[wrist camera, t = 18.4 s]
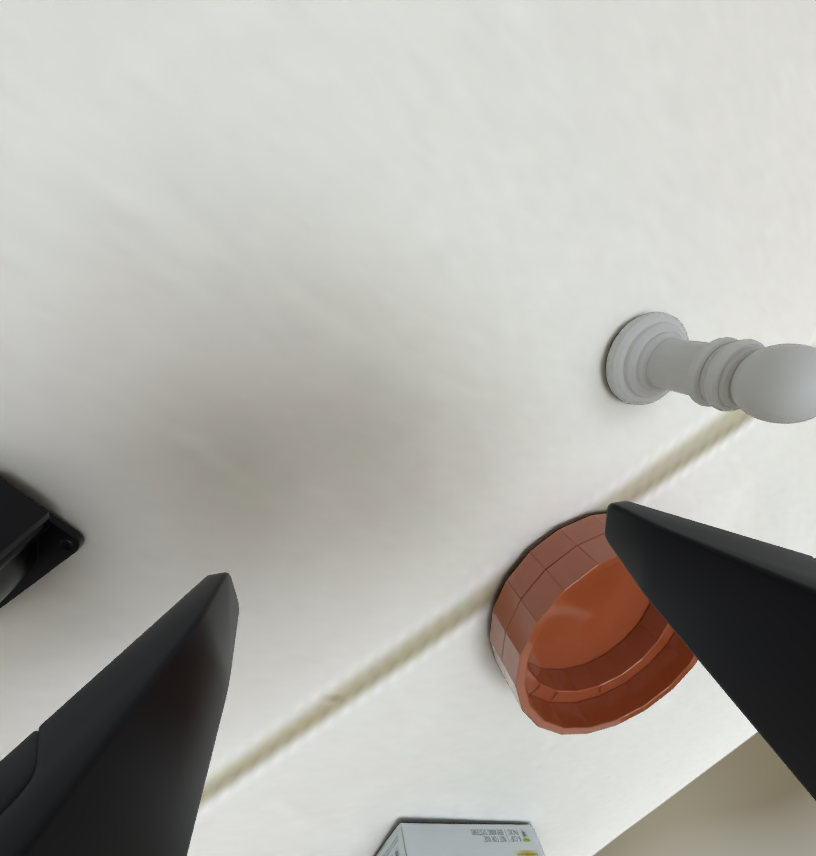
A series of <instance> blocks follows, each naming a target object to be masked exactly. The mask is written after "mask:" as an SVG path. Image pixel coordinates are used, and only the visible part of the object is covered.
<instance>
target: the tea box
mask: <svg viewBox="0 0 816 856" xmlns="http://www.w3.org/2000/svg"><path fill="white" fill-rule="evenodd" d="M376 856H546V855H545V853H544V851H543V848H542V846H541V844H540V842H539V839H538V837H537V835H536V832H535V830H534V828H533V826H532V825H512V824H506V825H505V824H420V823H399V825H398V826H397V828H396V829H395V830H394V831H393V833H392V834H391V835H390V837H389V838H388V839H387V841H386V842H385V844H384V845H383V846H382V848H381V849H380V851H379V852H378V854H377V855H376Z"/></svg>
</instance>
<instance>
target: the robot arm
mask: <svg viewBox="0 0 816 856" xmlns="http://www.w3.org/2000/svg"><path fill="white" fill-rule="evenodd" d="M604 532H605V537H606V540H607V542H608V543H609V545H610V546H611V548H612V549H613V550H614V552H615V553H616V555H617V556H618V558H619V559H620V561H621V562H622V563H623V565H624V566H625V568H626V569H627V571H628V572H629V574H630V575H631V576H632V578H633V579H634V581H635V582H636V584H637V585H638V587H639V588H640V589H641V591H642V592H643V593H644V595H645V596H646V597H647V598H648V600H649V601H650V602H651V604H652V605H653V606H654V607H655V608H656V610H657V611H658V612H659V613H660V614H661V616H662V617H663V618H664V619H665V620H666V622H667V623H668V624H669V625H670V626H671V628H672V629H673V630H674V631H675V632H676V634H677V635H678V636H679V637H680V638H681V640H682V641H683V642H684V643H685V644H686V646H687V647H688V648H689V649H690V650H691V652H692V653H693V654H694V655H695V656H696V658H697V659H698V660H699V661H700V662H701V664H702V665H703V666H704V667H705V668H706V670H707V671H708V672H709V673H710V674H711V676H712V677H713V678H714V679H715V680H716V682H717V683H718V684H719V685H720V686H721V688H722V689H723V690H724V691H725V692H726V694H727V695H728V696H729V697H730V698H731V700H732V701H733V702H734V703H735V704H736V706H737V707H738V708H739V709H740V710H741V712H742V713H743V714H744V715H745V716H746V718H747V719H748V720H749V721H750V722H751V724H752V725H753V726H754V727H755V728H756V730H757V731H758V732H759V733H760V734H761V736H762V737H763V738H764V739H765V740H766V742H767V743H768V744H769V745H770V746H771V748H772V749H773V750H774V751H775V752H776V754H777V755H778V756H779V757H780V758H781V760H782V761H783V762H784V763H785V764H786V765H787V767H788V768H789V769H790V770H791V771H792V772H793V774H794V775H795V776H796V778H797V779H798V780H799V781H800V782H801V784H802V785H803V786H804V787H805V788H806V789H807V791H808V792H809V793H810V794H811V796H812V797H813V798H814V799H815V800H816V558H815V559H814V558H813V557H812V556H809V555H806V554H803V553H799V552H796V551H793V550H789V549H786V548H783V547H779V546H776V545H772V544H769V543H766V542H762V541H759V540H756V539H752V538H749V537H746V536H742V535H739V534H736V533H732V532H729V531H726V530H722V529H719V528H716V527H712V526H709V525H706V524H702V523H699V522H695V521H692V520H689V519H685V518H682V517H679V516H675V515H672V514H669V513H665V512H662V511H659V510H655V509H652V508H649V507H645V506H642V505H639V504H635V503H632V502H629V501H621V502H615V503H611V504H610V505H609V506H608V508H607V514H606V522H605V531H604ZM65 540H69V541H71V542H72V543H73V544H67V543H66V542H65ZM83 543H84V538H83V536H82V535H81V534H80V533H79V532H78V531H76V530H75V529H73V528H72V527H71V526H69V525H68V524H66V523H65V522H63V521H62V520H61V519H59V518H58V517H56V516H55V515H54V514H52V513H51V512H49V511H48V510H46V509H45V508H44V507H42V506H41V505H39V504H38V503H36V502H35V501H34V500H32V499H31V498H29V497H28V496H27V495H25V494H24V493H22V492H21V491H19V490H18V489H17V488H15V487H14V486H12V485H11V484H10V483H8V482H7V481H5V480H4V479H2V478H1V477H0V608H1V607H3V606H4V605H5V604H7V603H8V602H9V601H11V600H12V599H13V598H15V597H16V596H17V595H19V594H20V593H21V592H23V591H24V590H25V589H27V588H28V587H29V586H31V585H32V584H33V583H35V582H36V581H37V580H39V579H40V578H41V577H43V576H44V575H45V574H47V573H48V572H49V571H51V570H52V569H54V568H55V567H56V566H58V565H59V564H60V563H62V562H63V561H64V560H66V559H67V558H68V557H70V556H71V555H72V554H74V553H75V552H76V551H77V550H78V549H79V548H80V547H81V546H82V544H83ZM238 615H239V603H238V599H237V596H236V592H235V589H234V586H233V582H232V579H231V576H230V575H229V574H228V573H226V572H224V573H219V574H213V575H209V576H207V577H205V578H204V579H203V580H202V581H201V582H200V583H199V584H198V585H196V586H195V587H194V588H193V589H192V590H191V591H190V592H189V593H188V594H186V595H185V596H184V597H183V598H182V599H181V600H180V601H179V602H178V603H176V604H175V605H174V606H173V607H172V608H171V609H170V610H169V611H168V612H166V613H165V614H164V615H163V616H162V617H161V618H160V619H159V620H157V621H156V622H155V623H154V624H153V625H152V626H151V627H150V628H149V629H147V630H146V631H145V632H144V633H143V634H142V635H141V636H140V637H139V638H137V639H136V640H135V641H134V642H133V643H132V644H131V645H130V646H129V647H127V648H126V649H125V650H124V651H123V652H122V653H121V654H120V655H119V656H117V657H116V658H115V659H114V660H113V661H112V662H111V663H110V664H109V665H107V666H106V667H105V668H104V669H103V670H102V671H101V672H100V673H99V674H97V675H96V676H95V677H94V678H93V679H92V680H91V681H90V682H89V683H87V684H86V685H85V686H84V687H83V688H82V689H81V690H80V691H78V692H77V693H76V694H75V695H74V696H73V697H72V698H71V699H70V700H68V701H67V702H66V703H65V704H64V705H63V706H62V707H61V708H60V709H58V710H57V711H56V712H55V713H54V714H53V715H52V716H51V717H50V718H48V719H47V720H46V721H45V722H44V723H43V724H42V725H41V726H40V727H39V731H34V732H33V733H32V734H30V735H29V736H28V737H27V738H26V739H25V740H24V741H23V742H22V743H20V744H19V745H18V746H17V747H16V748H15V749H14V750H13V751H12V752H10V753H9V754H8V755H7V756H6V757H5V758H4V759H3V760H1V761H0V856H187V853H188V848H189V844H190V840H191V836H192V832H193V828H194V824H195V820H196V816H197V812H198V808H199V804H200V800H201V796H202V792H203V788H204V784H205V780H206V776H207V772H208V768H209V764H210V760H211V756H212V752H213V748H214V744H215V740H216V736H217V732H218V728H219V724H220V720H221V716H222V712H223V708H224V704H225V700H226V695H227V691H228V686H229V680H230V673H231V666H232V659H233V652H234V644H235V637H236V630H237V622H238Z"/></svg>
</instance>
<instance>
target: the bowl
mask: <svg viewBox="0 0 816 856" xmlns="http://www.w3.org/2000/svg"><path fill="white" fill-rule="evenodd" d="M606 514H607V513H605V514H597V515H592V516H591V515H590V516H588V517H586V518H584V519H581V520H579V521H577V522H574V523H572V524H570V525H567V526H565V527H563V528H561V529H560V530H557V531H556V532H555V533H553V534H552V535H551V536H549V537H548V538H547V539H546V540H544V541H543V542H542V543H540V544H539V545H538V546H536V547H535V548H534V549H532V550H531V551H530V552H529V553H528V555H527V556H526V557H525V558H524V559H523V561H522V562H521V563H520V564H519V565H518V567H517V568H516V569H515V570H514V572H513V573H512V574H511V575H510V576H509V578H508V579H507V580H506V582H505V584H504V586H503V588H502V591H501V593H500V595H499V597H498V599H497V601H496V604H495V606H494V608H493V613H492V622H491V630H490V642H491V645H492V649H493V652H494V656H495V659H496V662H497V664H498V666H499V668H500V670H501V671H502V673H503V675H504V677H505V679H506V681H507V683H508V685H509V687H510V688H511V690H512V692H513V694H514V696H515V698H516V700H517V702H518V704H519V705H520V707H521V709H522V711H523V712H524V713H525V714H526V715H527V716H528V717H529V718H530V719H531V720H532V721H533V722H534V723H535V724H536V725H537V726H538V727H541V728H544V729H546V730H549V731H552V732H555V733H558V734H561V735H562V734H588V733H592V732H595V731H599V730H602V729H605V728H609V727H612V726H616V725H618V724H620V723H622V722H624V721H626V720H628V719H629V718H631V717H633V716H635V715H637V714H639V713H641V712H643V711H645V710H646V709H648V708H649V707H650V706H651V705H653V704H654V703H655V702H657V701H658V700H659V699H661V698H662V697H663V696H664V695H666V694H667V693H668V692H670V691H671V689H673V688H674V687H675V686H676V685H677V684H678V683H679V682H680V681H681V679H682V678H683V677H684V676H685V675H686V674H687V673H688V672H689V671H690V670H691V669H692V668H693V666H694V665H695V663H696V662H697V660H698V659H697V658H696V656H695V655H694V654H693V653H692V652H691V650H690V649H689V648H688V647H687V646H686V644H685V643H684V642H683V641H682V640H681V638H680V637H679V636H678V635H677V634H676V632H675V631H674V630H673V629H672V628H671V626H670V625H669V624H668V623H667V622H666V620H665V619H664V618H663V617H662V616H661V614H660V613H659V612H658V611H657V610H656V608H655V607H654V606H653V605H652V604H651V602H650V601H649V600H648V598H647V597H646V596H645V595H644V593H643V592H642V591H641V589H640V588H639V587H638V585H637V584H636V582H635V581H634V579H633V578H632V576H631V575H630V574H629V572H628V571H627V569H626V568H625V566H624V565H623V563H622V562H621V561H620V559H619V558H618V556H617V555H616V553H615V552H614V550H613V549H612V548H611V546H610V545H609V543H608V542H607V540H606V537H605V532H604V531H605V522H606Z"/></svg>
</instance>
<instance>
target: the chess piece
mask: <svg viewBox="0 0 816 856" xmlns="http://www.w3.org/2000/svg"><path fill="white" fill-rule="evenodd" d="M606 377H607V381H608V384H609V387H610V389H611V391H612V392H613V393H614V394H615V395H616V396H617V397H618V398H619V399H620V400H622V401H624V402H626V403H628V404H633V405H643V404H649V403H652V402H654V401H657V400H658V399H660V398H662V397H663V396H664V395H666V394H667V393H668V392H669V391H674V392H678V393H682V394H686V395H690V397H691V399H692V400H693V401H694V402H696V403H697V404H699V405H701V406H712V407H714V408H716V409H717V410H720V411H735V410H738V409H741V410H742V411H744V412H745V413H746V414H748V415H750V416H752V417H754V418H757V419H759V420H763V421H767V422H772V423H781V424H789V423H798V422H803V421H807V420H810V419H812V418H814V417H816V348H814V347H811V346H807V345H801V344H778V345H772V346H768V347H764V345H763V344H761V343H760V342H758V341H755V340H752V339H743V340H737V339H735V338H731V337H725V338H719V339H716V340H714V341H712V342H710V343H708V342H699V341H690V340H689V339H688V335H687V332H686V329H685V327H684V326H683V324H682V323H681V322H680V321H679V320H678V319H677V318H676V317H674V316H672V315H670V314H667V313H664V312H652V313H648V314H644V315H641V316H639V317H637V318H635V319H633V320H632V321H631V322H629V323H628V324H627V325H626V326H625V327H624V328H623V329H622V330H621V331H620V332H619V334H618V335H617V337H616V338H615V340H614V342H613V344H612V346H611V348H610V351H609V354H608V358H607V363H606Z"/></svg>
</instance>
